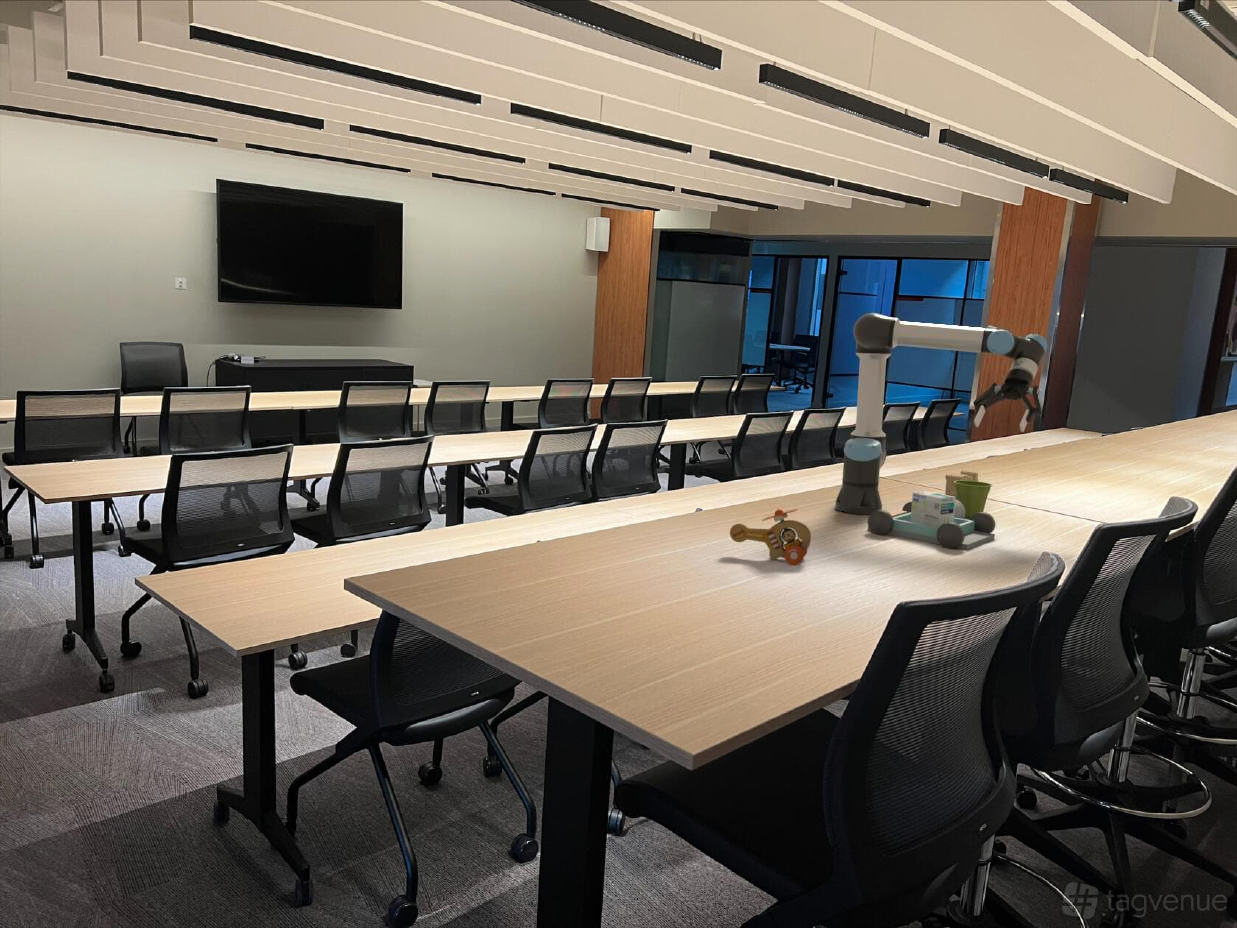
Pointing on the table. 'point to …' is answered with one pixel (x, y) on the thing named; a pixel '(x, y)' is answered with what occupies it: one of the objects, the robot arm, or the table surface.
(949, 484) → the toy train
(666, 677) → the table surface
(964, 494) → the plant pot
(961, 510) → the ceramic mug
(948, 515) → the light bulb box
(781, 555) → the toy helicopter
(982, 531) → the chassis
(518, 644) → the table surface
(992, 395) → the robot arm
